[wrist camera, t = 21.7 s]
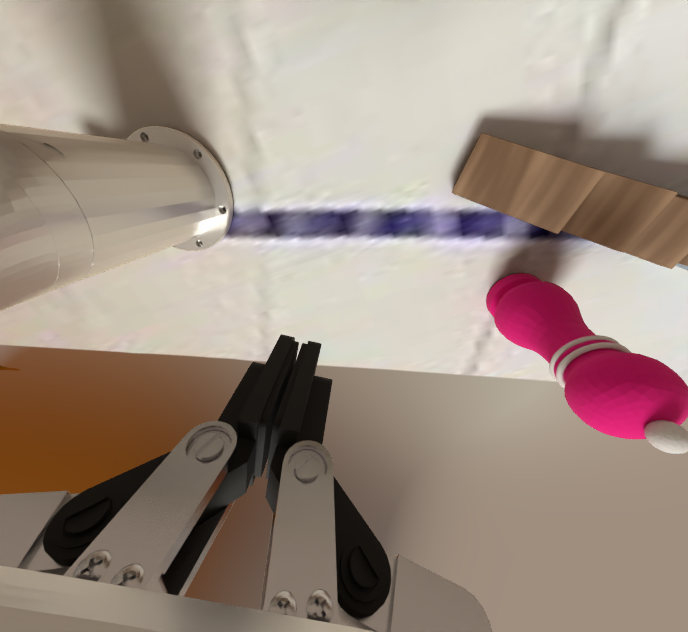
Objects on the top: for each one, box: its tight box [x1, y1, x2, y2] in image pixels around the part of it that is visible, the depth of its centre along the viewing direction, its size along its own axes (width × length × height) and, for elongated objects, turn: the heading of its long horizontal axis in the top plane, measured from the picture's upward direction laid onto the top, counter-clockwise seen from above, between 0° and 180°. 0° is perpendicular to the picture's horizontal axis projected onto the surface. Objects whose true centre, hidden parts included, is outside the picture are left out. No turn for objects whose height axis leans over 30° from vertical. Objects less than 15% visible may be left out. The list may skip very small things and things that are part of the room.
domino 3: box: [625, 196, 688, 269], centre depth 24 cm, size 2×5×10 cm
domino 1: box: [452, 133, 605, 234], centre depth 23 cm, size 2×5×10 cm
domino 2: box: [561, 166, 678, 252], centre depth 23 cm, size 2×5×10 cm
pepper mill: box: [486, 273, 688, 454], centre depth 23 cm, size 7×7×20 cm
